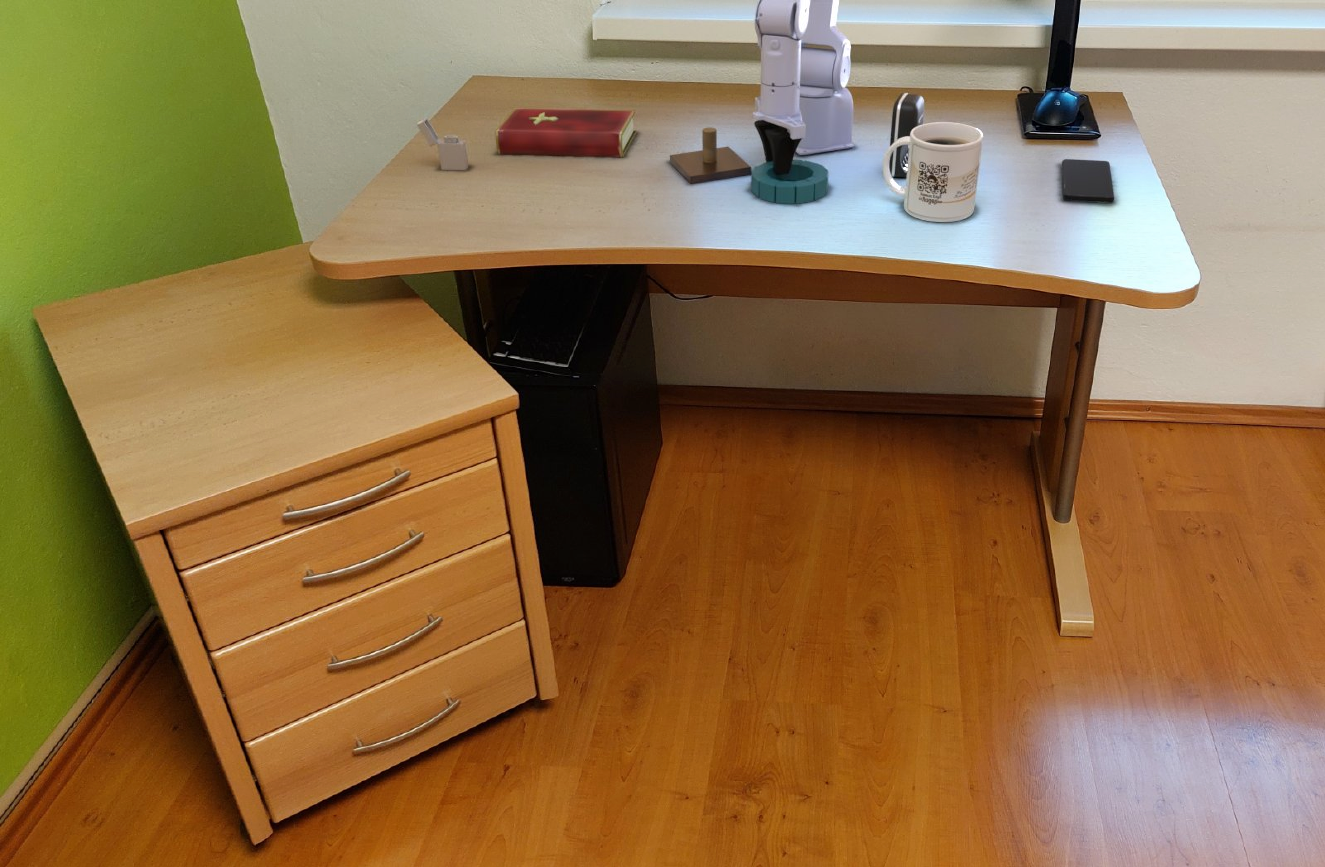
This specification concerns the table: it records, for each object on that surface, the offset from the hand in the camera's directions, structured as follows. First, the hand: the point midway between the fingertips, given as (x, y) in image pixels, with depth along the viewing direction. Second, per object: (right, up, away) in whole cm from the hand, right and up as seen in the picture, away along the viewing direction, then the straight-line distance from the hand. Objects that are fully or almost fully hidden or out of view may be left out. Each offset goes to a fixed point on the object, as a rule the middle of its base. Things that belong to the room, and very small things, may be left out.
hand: (778, 170), depth 173 cm
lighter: (-52, +3, +10) cm, 53 cm away
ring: (+1, -3, -3) cm, 5 cm away
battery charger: (+20, 0, +2) cm, 20 cm away
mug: (+21, -8, -10) cm, 25 cm away
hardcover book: (-33, +8, +17) cm, 39 cm away
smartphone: (+45, -3, -5) cm, 45 cm away
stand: (-10, +2, +6) cm, 12 cm away
